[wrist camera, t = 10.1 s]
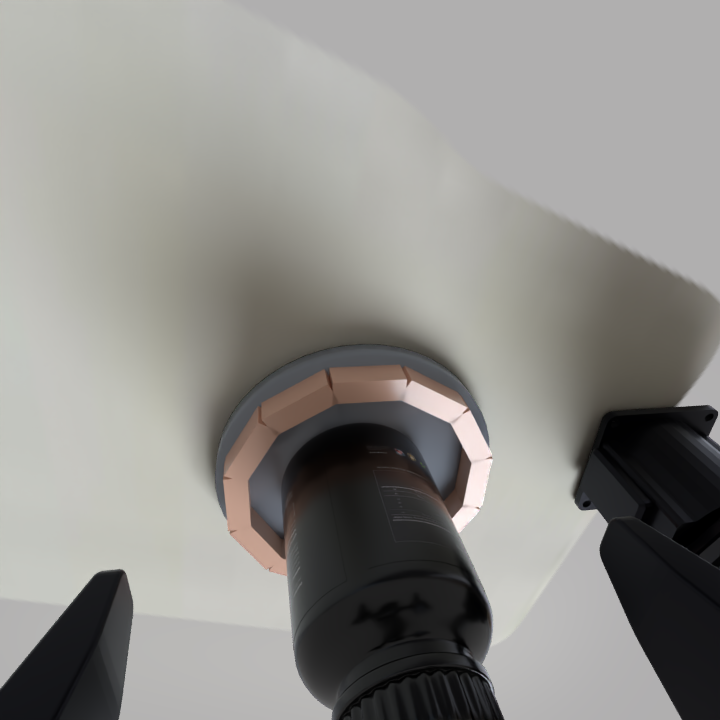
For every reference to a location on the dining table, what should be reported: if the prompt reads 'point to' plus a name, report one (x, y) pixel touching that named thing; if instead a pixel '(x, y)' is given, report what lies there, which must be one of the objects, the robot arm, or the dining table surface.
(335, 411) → the bottle holder
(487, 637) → the supplement bottle
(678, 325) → the dining table surface
